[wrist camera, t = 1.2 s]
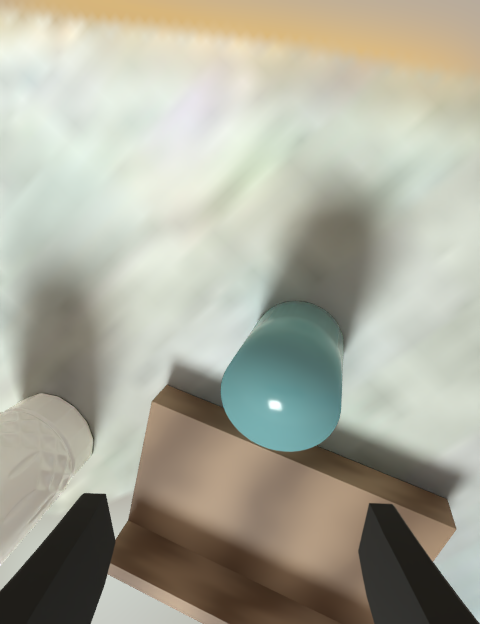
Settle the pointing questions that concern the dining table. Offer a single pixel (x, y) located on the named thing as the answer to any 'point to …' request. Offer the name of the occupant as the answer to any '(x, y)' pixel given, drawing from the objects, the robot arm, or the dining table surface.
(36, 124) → the dining table surface
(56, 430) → the white cup
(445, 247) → the dining table surface
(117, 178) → the dining table surface
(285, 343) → the teal round canister
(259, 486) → the walnut shelf
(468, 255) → the dining table surface
